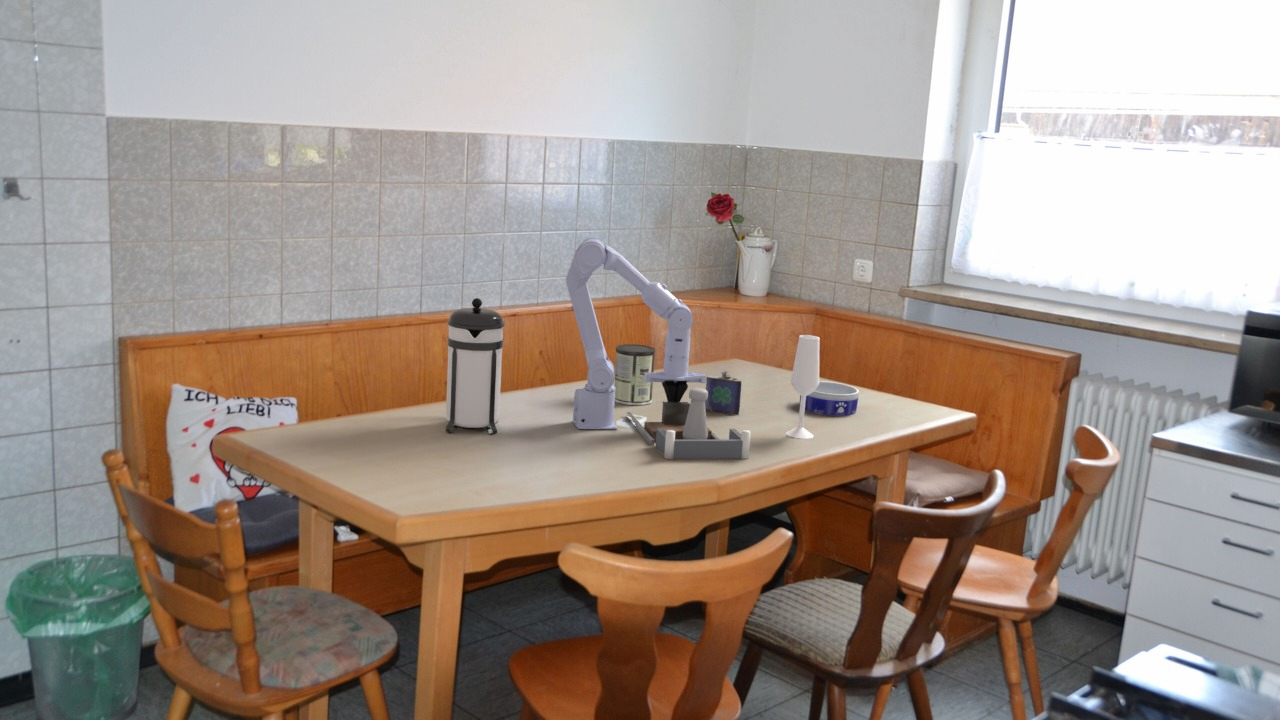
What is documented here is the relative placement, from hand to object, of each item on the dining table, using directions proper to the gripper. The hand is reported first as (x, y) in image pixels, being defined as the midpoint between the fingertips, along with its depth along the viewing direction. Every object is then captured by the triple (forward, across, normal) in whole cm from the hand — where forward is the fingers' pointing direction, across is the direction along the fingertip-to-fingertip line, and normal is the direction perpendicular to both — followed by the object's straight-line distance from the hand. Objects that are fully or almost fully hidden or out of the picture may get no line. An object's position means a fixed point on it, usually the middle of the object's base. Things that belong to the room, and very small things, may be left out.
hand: (672, 411), depth 260 cm
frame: (+4, +2, -18) cm, 19 cm away
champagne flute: (+5, +31, -4) cm, 32 cm away
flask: (+5, +18, +17) cm, 25 cm away
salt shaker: (+5, +2, -12) cm, 13 cm away
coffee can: (+5, -3, +28) cm, 28 cm away
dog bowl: (+5, +49, +21) cm, 53 cm away
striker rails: (+4, 0, 0) cm, 4 cm away
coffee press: (+5, -47, +3) cm, 47 cm away
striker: (+4, 0, -5) cm, 7 cm away
